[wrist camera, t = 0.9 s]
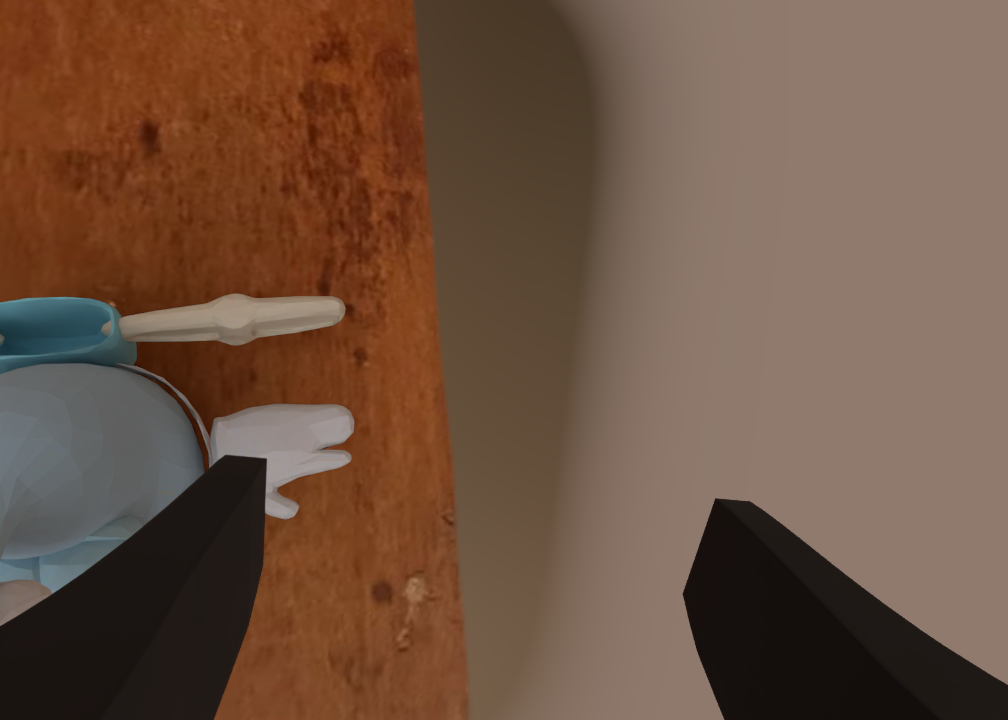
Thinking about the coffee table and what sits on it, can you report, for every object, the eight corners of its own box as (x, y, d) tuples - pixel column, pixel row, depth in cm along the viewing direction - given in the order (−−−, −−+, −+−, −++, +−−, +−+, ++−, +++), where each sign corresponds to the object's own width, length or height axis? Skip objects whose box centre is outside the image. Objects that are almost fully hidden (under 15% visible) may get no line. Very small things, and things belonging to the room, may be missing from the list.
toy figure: (-195, 714, 22) (-946, 1034, 8) (-202, 372, 24) (-836, 162, 10) (362, 594, 28) (471, 666, 14) (326, 325, 30) (389, 148, 16)
